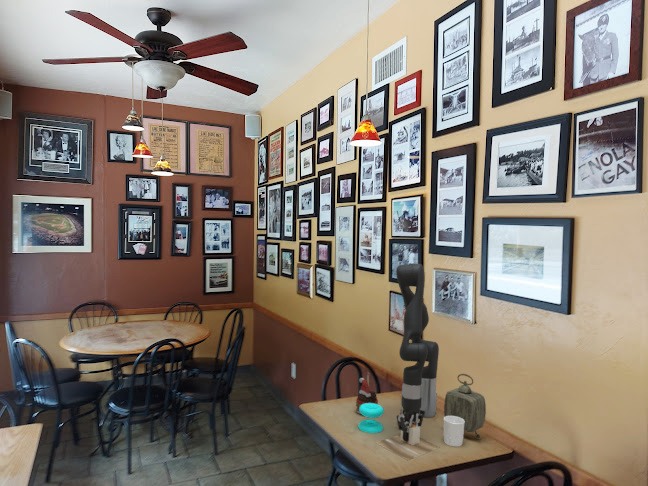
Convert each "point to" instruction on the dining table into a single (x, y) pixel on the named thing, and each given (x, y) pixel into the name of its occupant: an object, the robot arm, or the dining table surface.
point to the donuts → (371, 412)
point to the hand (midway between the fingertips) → (409, 439)
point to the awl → (399, 415)
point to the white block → (412, 434)
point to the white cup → (453, 430)
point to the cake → (365, 394)
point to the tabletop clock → (466, 406)
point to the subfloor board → (407, 447)
